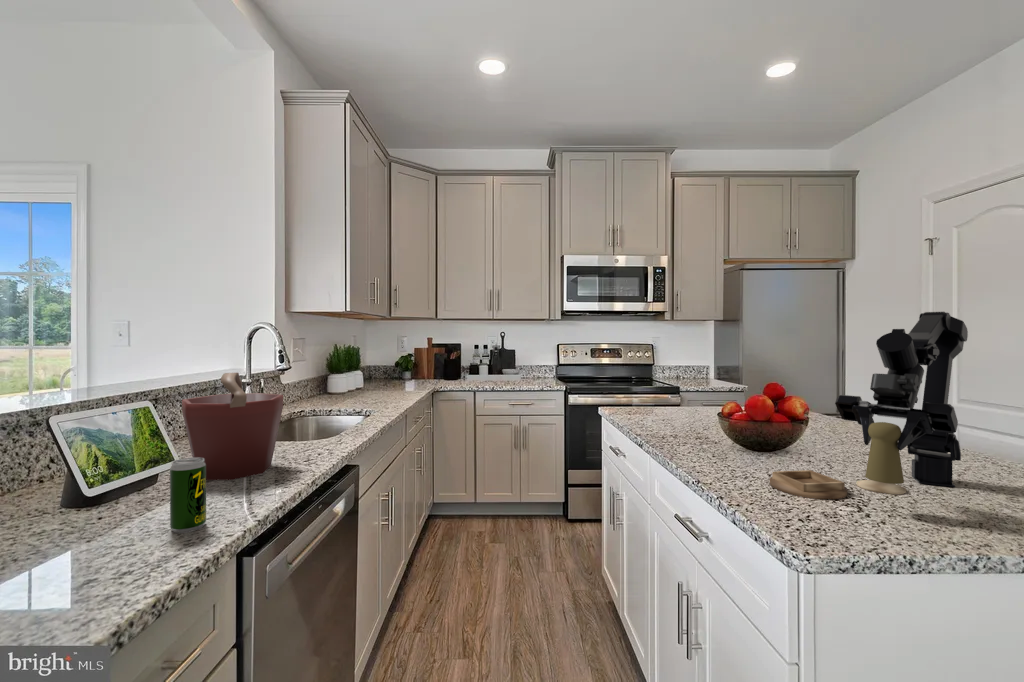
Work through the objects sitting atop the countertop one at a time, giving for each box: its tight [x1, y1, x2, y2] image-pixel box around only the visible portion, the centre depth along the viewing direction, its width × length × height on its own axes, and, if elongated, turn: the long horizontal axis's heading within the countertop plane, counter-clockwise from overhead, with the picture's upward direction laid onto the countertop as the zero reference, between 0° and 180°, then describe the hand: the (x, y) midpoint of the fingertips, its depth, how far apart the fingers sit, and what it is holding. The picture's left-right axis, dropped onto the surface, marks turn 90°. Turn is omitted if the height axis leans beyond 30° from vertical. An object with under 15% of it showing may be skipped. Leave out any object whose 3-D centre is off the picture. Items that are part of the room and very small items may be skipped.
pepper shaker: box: [864, 421, 905, 485], centre depth 94 cm, size 6×6×11 cm
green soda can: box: [169, 457, 207, 534], centre depth 86 cm, size 5×5×12 cm
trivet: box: [769, 469, 848, 500], centre depth 109 cm, size 15×15×3 cm
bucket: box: [181, 372, 284, 481], centre depth 122 cm, size 24×22×25 cm
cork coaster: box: [856, 479, 907, 495], centre depth 110 cm, size 9×9×1 cm
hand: (881, 446), depth 93 cm, fingers closed on pepper shaker, 5 cm apart
